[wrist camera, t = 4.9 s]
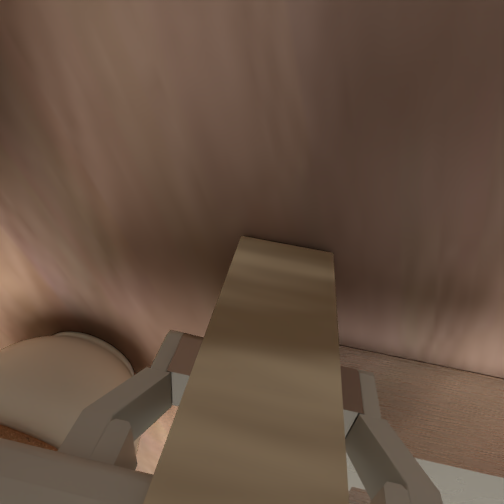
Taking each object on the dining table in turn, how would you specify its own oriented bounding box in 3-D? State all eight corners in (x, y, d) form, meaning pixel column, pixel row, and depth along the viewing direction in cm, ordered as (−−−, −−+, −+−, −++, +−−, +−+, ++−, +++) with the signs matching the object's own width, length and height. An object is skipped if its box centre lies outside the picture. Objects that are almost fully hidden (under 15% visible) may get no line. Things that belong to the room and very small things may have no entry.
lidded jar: (175, 422, 25) (111, 602, 17) (41, 398, 26) (-76, 555, 18) (158, 316, 19) (47, 520, 11) (-16, 291, 20) (-226, 458, 12)
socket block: (296, 336, 18) (289, 429, 14) (553, 389, 17) (629, 506, 13) (263, 454, 25) (252, 537, 21) (441, 495, 24) (466, 590, 20)
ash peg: (241, 235, 15) (83, 667, 5) (332, 253, 14) (364, 747, 5) (233, 302, 17) (115, 689, 7) (312, 318, 17) (303, 742, 7)
